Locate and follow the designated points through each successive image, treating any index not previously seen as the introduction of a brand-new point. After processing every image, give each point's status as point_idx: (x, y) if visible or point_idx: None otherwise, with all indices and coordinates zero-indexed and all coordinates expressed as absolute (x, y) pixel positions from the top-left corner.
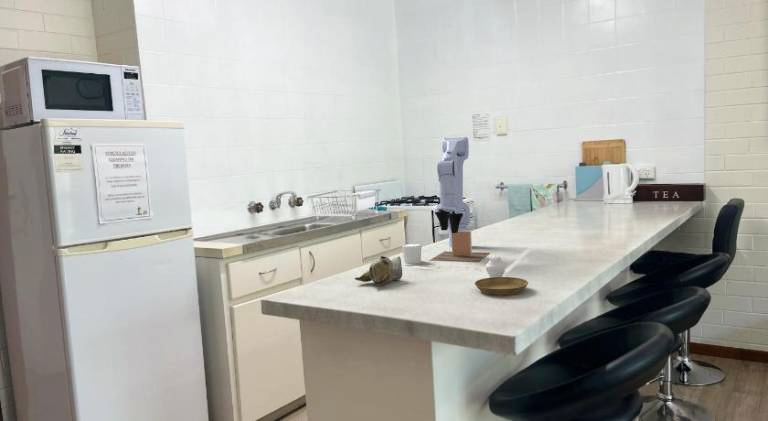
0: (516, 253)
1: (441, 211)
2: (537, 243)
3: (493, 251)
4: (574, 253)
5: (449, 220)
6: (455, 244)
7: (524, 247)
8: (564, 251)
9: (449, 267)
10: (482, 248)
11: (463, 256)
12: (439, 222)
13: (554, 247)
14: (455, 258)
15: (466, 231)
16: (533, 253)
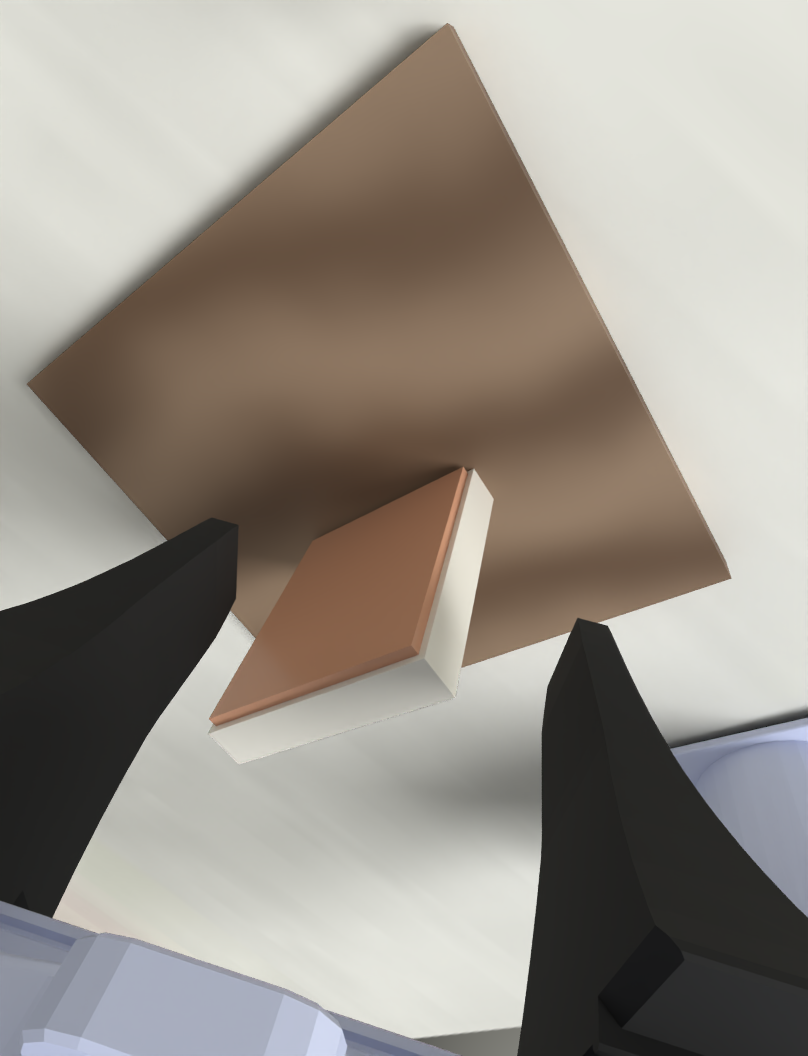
0: (271, 797)
1: (597, 1046)
2: (431, 1006)
3: (438, 796)
4: (91, 878)
5: (79, 638)
6: (409, 547)
7: (393, 926)
8: (160, 899)
9: (81, 67)
10: None
11: (345, 493)
12: (656, 733)
13: (278, 953)
14: (314, 372)
15: (246, 719)
16: (208, 826)
